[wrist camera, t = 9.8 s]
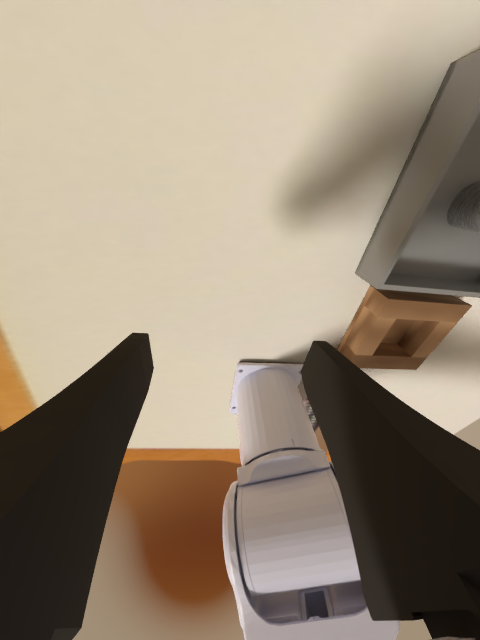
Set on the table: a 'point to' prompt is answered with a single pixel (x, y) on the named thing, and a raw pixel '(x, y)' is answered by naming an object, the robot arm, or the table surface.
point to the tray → (433, 199)
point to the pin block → (399, 328)
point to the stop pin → (466, 209)
